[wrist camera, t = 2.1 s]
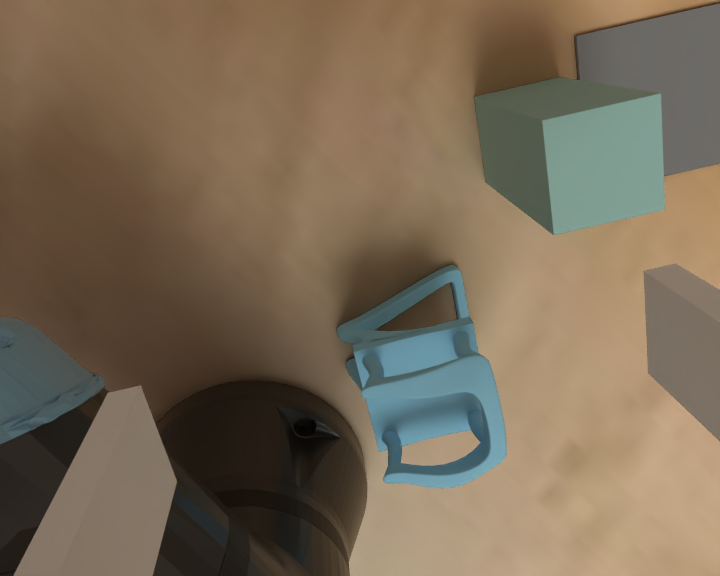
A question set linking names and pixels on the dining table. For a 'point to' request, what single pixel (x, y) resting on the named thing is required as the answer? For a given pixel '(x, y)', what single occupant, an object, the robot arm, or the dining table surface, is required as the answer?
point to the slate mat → (666, 77)
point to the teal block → (574, 151)
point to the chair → (426, 385)
